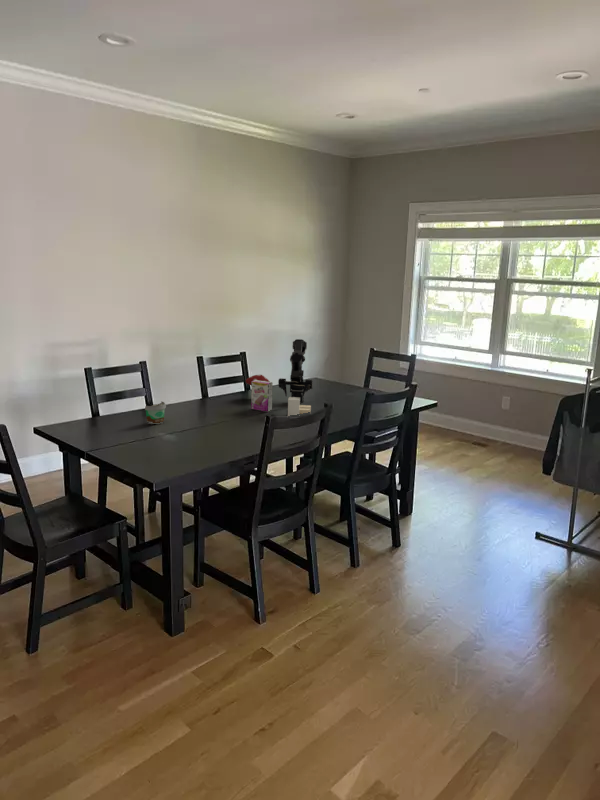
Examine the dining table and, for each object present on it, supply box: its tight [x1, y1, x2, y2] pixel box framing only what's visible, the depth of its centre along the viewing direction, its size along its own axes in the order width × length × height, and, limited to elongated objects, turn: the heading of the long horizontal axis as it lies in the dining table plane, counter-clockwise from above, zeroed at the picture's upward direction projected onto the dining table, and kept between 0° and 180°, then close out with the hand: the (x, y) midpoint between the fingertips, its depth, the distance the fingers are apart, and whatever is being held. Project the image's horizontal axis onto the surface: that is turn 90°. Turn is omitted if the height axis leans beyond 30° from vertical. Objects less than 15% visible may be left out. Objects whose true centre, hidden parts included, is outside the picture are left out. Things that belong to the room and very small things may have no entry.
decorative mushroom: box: [245, 374, 271, 386], centre depth 370 cm, size 16×16×15 cm
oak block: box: [300, 404, 312, 414], centre depth 346 cm, size 11×11×3 cm
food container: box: [144, 401, 167, 423], centre depth 315 cm, size 12×6×10 cm, turn 148°
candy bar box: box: [250, 380, 274, 413], centre depth 346 cm, size 11×5×16 cm, turn 65°
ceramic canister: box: [287, 396, 301, 417], centre depth 336 cm, size 6×6×10 cm
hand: (294, 396), depth 338 cm, fingers open, 9 cm apart
